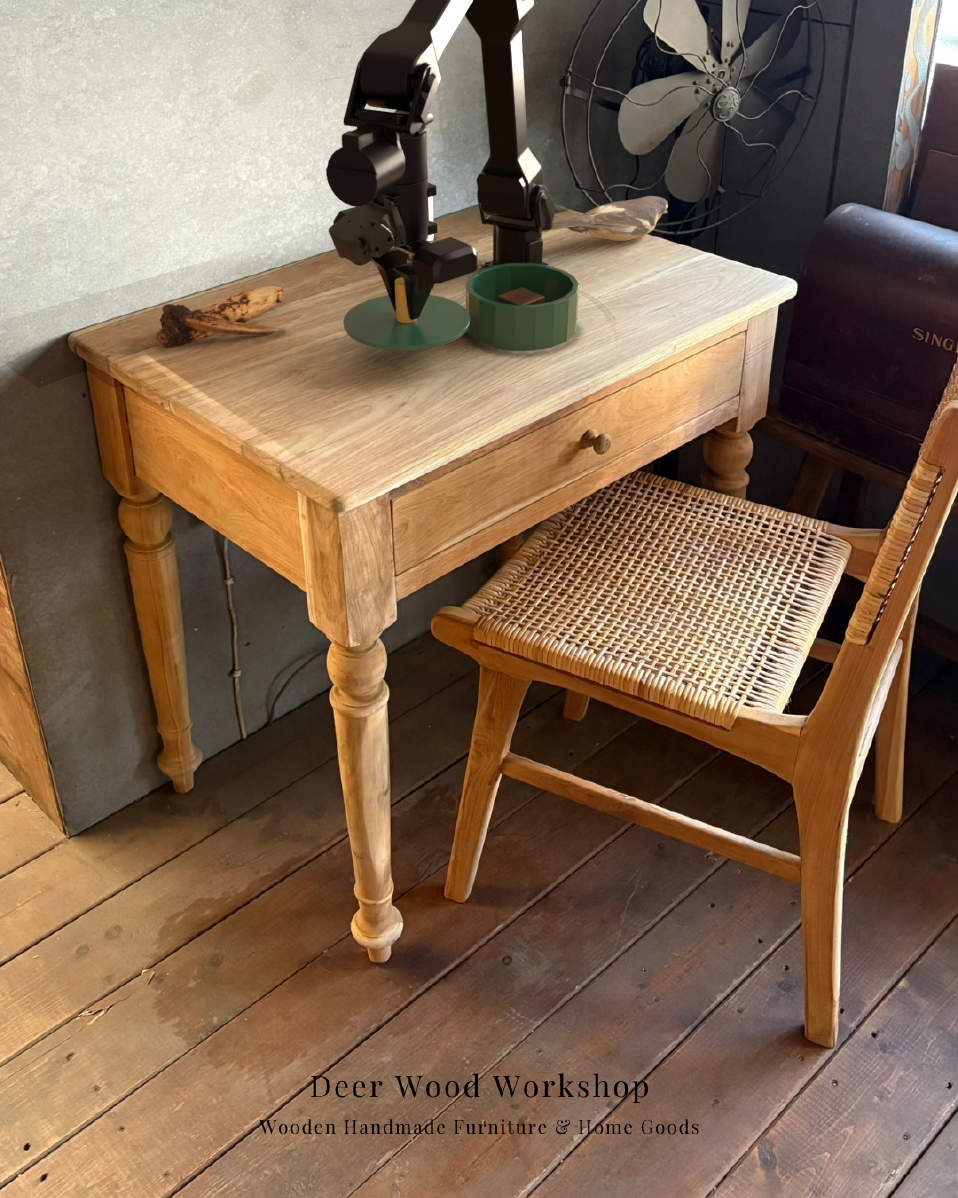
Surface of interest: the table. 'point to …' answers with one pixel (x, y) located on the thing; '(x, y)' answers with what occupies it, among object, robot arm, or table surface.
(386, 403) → the table surface
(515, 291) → the block
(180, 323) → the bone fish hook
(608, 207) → the decorative bird
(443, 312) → the lid
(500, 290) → the tin
